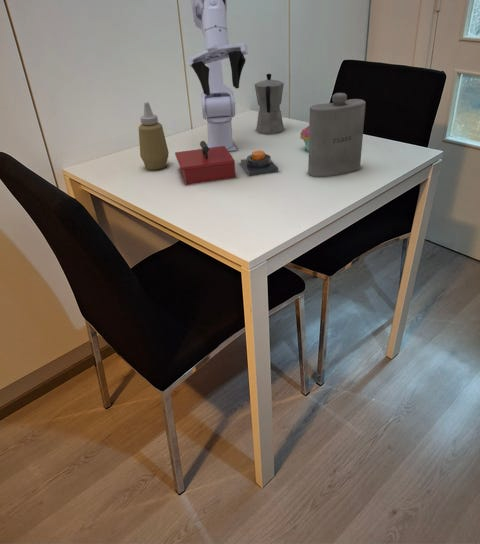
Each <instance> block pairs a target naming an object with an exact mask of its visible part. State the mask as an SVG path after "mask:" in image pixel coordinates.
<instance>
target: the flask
mask: <svg viewBox="0 0 480 544" xmlns="http://www.w3.org/2000/svg"><path fill="white" fill-rule="evenodd" d="M331 98H332V99H331V102H327V103H318V104H317V103H316V104H312V105H311V106H310V107H309V123H308V124H309V125H308V126H309V151H308V163H307V164H308V166H307V170H308V171H307V173H308V175H309V176H311V177H315V178H323V177H324V178H325V177H331V176H339V175H344V174H348V173H352V172H355V171H357V170H359V169H360V168H361V163H362V162H361V160H362V149H363V137H364V127H365V125H364V124H365V115H366V101H365V100H364V99H361V98H350V99H348V95H347V94H346V93H345V92H335V93H334V94H333V95H332V96H331Z"/></svg>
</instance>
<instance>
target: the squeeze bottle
mask: <svg viewBox="0 0 480 544" xmlns="http://www.w3.org/2000/svg"><path fill="white" fill-rule="evenodd" d="M139 119H140V123H141V124H140V125H139V126H138V139H139V140H138V141H139V156H140V159H141V160H142V163H143V164H144V166H145V168H146V169H147V170H150V171H151V170H153V171H156V170H161V169H164V168H166V167H167V164H168V159H169V155H170V152H169V149H168V144H167V140H166V136H165V131H164V127H163V124H161V122H159V118H158V115H157V114H154V113H153V110H152V107H151V105H150V103H149V101H148V102H147V101H146V102H144V105H143V115H141V116H140V118H139Z"/></svg>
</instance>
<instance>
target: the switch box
mask: <svg viewBox="0 0 480 544" xmlns="http://www.w3.org/2000/svg"><path fill="white" fill-rule="evenodd" d="M271 157H272V156H271V155H269V154H267V153H265V159H263V160H253V159H252V154H249V155H247V157H246V158H244V159H240V164H241V166H242V168H243V169H244V170H245V172H246V173H247V174H248V176H249V177H252V176H253V177H254V176H259V175H265V174H272V173H278V172H279V167H278V166H277V165H276V164H275V163H274V162H273V160H272V159H271Z"/></svg>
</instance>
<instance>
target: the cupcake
mask: <svg viewBox="0 0 480 544" xmlns="http://www.w3.org/2000/svg"><path fill="white" fill-rule="evenodd" d="M299 134H300V137H299V138H300V140H303V142H304V144H305V148H306V151H307V152H309V125H308V126H305V128H303V129H302V130H301V132H300V133H299Z"/></svg>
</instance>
